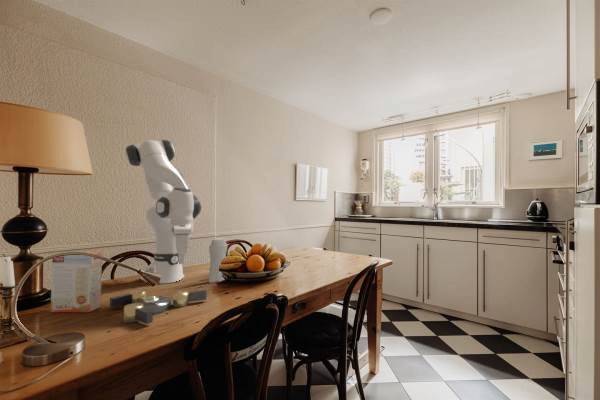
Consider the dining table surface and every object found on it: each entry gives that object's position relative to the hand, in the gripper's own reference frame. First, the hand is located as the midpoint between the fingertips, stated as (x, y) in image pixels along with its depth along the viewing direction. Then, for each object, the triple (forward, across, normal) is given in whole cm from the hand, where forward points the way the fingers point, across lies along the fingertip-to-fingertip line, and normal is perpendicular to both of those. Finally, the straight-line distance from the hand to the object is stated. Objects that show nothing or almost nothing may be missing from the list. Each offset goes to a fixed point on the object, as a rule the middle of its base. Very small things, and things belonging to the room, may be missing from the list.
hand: (180, 261), depth 112 cm
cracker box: (+16, -4, -34) cm, 38 cm away
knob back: (+15, -1, -18) cm, 24 cm away
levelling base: (+16, +6, -10) cm, 19 cm away
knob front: (+15, +17, -13) cm, 27 cm away
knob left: (+15, +6, +3) cm, 17 cm away
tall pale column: (+16, -24, +19) cm, 34 cm away
